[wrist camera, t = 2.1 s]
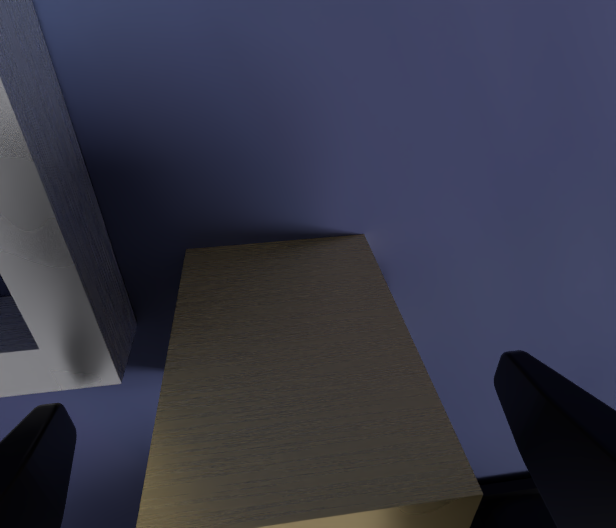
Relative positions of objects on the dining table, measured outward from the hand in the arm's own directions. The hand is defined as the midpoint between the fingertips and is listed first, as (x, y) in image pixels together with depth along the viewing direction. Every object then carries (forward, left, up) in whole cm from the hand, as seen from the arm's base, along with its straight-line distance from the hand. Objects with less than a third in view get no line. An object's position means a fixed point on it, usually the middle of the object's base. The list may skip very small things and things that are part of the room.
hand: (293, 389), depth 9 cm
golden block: (0, 0, -2) cm, 3 cm away
